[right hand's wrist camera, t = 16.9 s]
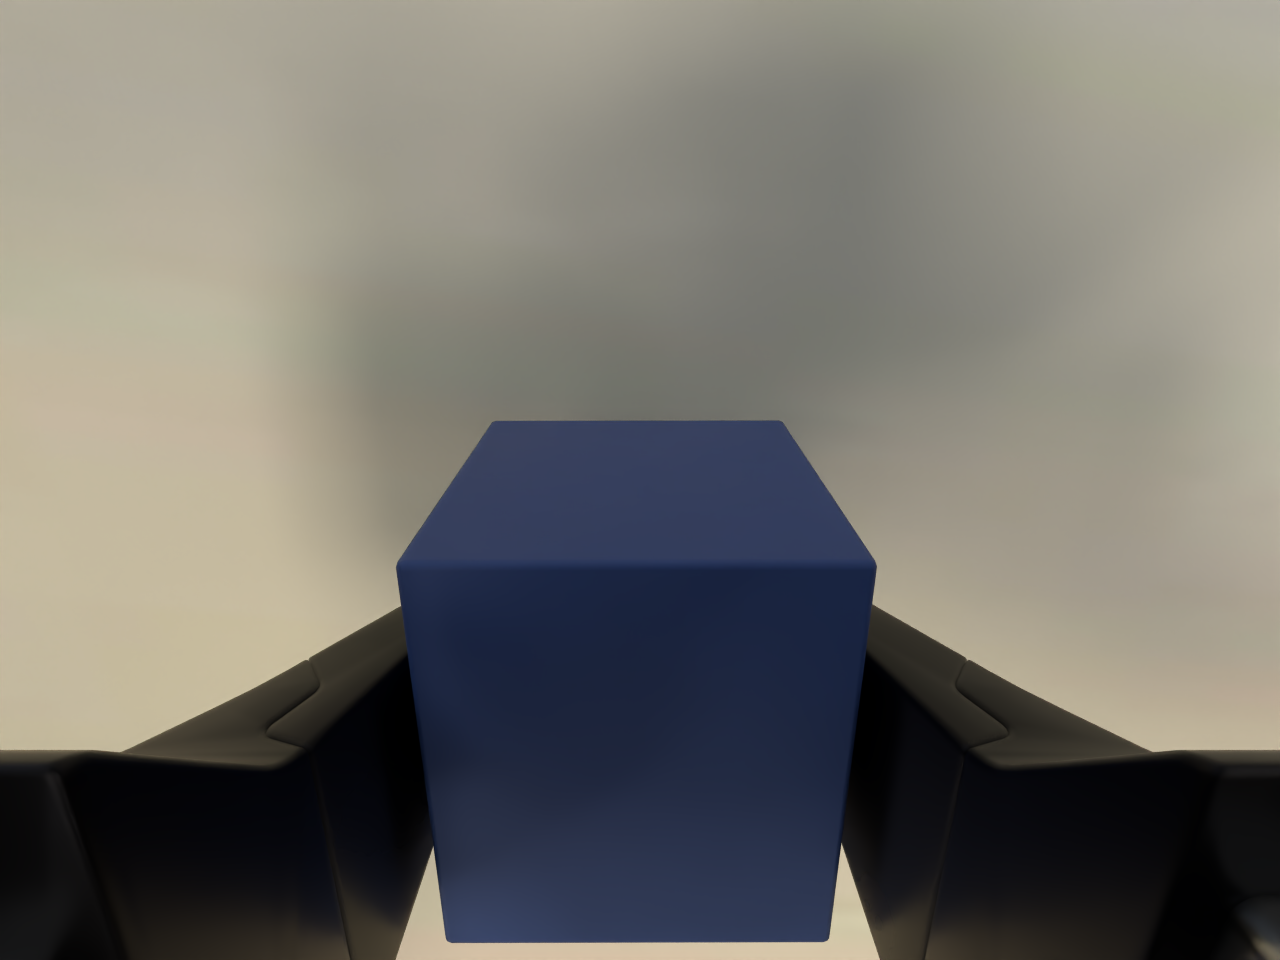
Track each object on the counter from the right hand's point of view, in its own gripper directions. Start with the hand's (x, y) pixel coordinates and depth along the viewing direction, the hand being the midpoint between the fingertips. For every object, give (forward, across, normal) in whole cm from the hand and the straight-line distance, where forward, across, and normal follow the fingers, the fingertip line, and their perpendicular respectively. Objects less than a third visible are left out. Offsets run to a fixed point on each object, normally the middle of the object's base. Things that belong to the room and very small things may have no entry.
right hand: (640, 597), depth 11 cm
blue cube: (+1, 0, 0) cm, 1 cm away
